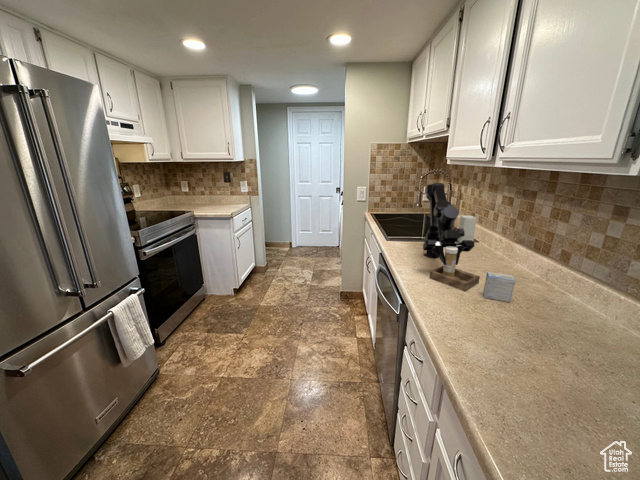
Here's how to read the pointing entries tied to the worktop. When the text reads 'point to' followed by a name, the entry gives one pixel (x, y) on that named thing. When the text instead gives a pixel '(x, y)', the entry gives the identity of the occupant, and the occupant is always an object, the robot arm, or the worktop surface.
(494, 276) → the medicine box
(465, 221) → the skincare box
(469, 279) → the frame
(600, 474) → the worktop surface
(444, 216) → the robot arm
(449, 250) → the sprinkles bottle
